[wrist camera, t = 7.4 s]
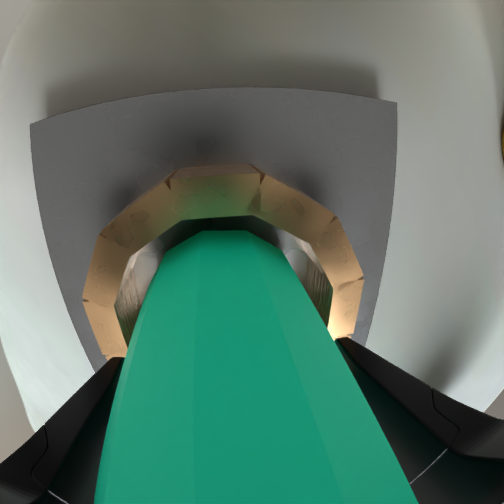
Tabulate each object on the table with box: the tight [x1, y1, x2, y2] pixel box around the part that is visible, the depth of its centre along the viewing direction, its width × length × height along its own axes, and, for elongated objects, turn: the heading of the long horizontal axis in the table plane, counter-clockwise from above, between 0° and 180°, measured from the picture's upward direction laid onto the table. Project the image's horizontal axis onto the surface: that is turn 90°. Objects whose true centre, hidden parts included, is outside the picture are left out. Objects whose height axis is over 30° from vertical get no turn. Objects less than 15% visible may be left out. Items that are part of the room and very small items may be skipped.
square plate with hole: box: [30, 87, 397, 373], centre depth 12 cm, size 16×16×4 cm
